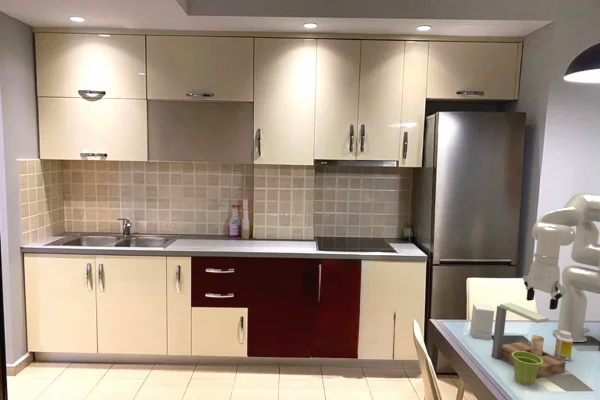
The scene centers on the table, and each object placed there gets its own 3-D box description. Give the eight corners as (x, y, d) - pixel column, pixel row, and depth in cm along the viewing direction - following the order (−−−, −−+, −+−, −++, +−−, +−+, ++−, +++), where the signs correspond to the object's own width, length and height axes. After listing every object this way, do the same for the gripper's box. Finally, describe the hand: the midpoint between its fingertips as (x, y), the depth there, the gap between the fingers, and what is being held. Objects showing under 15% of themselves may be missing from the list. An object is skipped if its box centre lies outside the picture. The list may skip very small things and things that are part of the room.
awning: (502, 354, 176) (508, 301, 174) (541, 375, 161) (548, 318, 158) (491, 356, 174) (497, 302, 172) (529, 378, 158) (537, 319, 156)
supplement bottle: (573, 359, 175) (577, 334, 174) (564, 361, 173) (567, 336, 172) (560, 353, 180) (563, 328, 179) (550, 355, 178) (554, 330, 177)
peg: (526, 361, 172) (529, 335, 170) (534, 359, 173) (537, 334, 172) (535, 366, 168) (538, 340, 167) (543, 364, 170) (546, 339, 168)
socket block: (522, 351, 180) (523, 341, 180) (564, 372, 164) (565, 362, 164) (496, 355, 175) (497, 345, 174) (536, 378, 158) (538, 367, 158)
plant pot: (542, 390, 150) (545, 365, 149) (511, 385, 153) (514, 360, 152) (536, 377, 159) (539, 353, 158) (507, 372, 162) (510, 349, 161)
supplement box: (491, 340, 189) (494, 311, 188) (472, 337, 191) (475, 308, 189) (487, 333, 197) (490, 305, 195) (469, 330, 198) (472, 303, 197)
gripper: (519, 254, 173) (514, 297, 175) (561, 266, 158) (555, 314, 160) (533, 253, 176) (528, 296, 178) (575, 265, 161) (569, 311, 163)
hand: (541, 304), depth 169 cm, fingers open, 9 cm apart
